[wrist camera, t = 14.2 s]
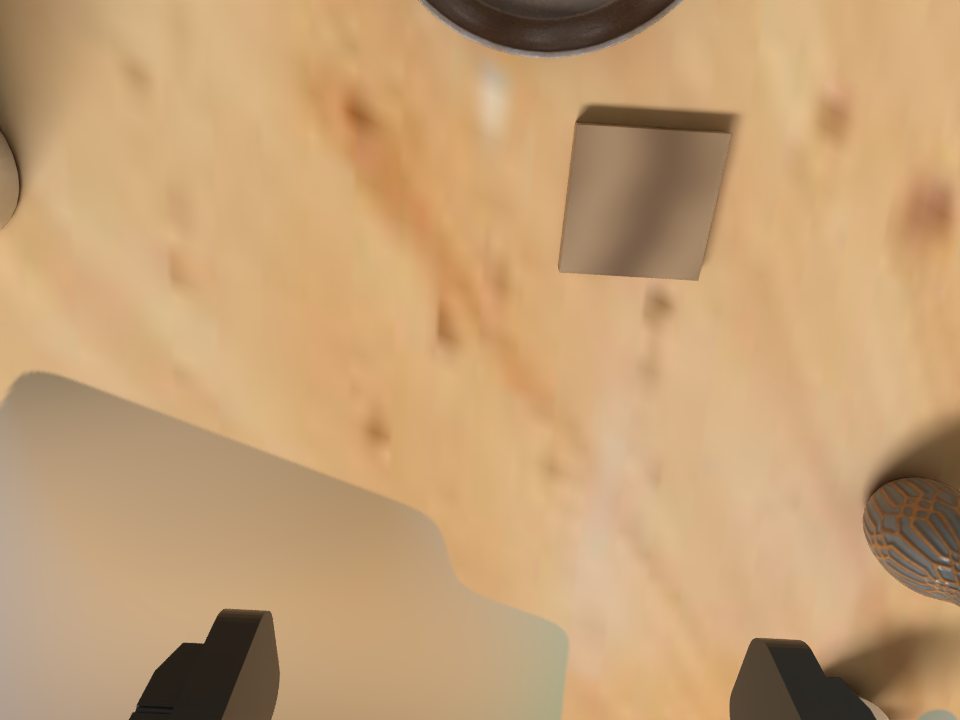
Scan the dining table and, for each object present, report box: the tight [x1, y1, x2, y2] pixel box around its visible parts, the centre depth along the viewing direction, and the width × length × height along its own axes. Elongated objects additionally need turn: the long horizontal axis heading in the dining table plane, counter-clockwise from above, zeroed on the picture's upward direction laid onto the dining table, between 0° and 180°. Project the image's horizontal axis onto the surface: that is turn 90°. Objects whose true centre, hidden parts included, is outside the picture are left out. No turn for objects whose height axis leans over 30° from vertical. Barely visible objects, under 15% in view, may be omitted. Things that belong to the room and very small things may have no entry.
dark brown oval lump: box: [863, 477, 960, 607], centre depth 40 cm, size 7×7×9 cm
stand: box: [558, 122, 732, 281], centre depth 34 cm, size 8×8×1 cm
